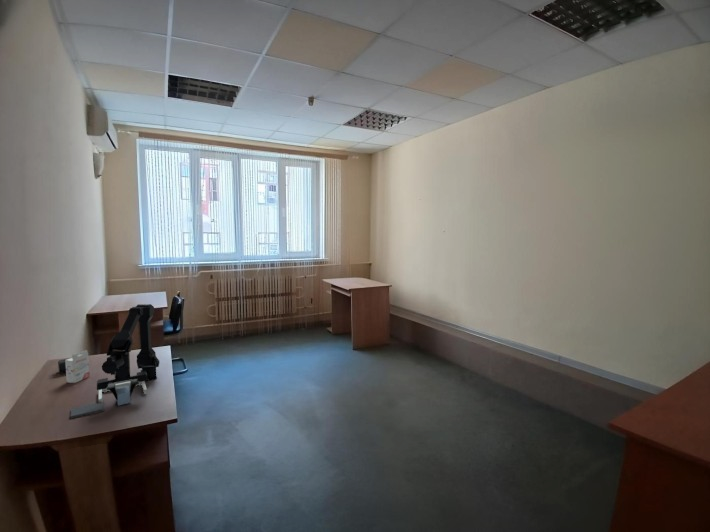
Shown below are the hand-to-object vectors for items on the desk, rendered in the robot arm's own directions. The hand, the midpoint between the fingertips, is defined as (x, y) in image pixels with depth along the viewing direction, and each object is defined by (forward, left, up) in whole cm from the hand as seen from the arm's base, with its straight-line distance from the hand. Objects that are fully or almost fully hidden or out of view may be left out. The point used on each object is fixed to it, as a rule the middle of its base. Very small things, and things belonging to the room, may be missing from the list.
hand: (123, 398), depth 158 cm
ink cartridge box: (+18, -41, -2) cm, 45 cm away
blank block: (0, 0, -1) cm, 1 cm away
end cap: (+22, -57, -2) cm, 61 cm away
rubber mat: (+13, +1, -2) cm, 13 cm away
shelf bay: (0, -11, -2) cm, 11 cm away
